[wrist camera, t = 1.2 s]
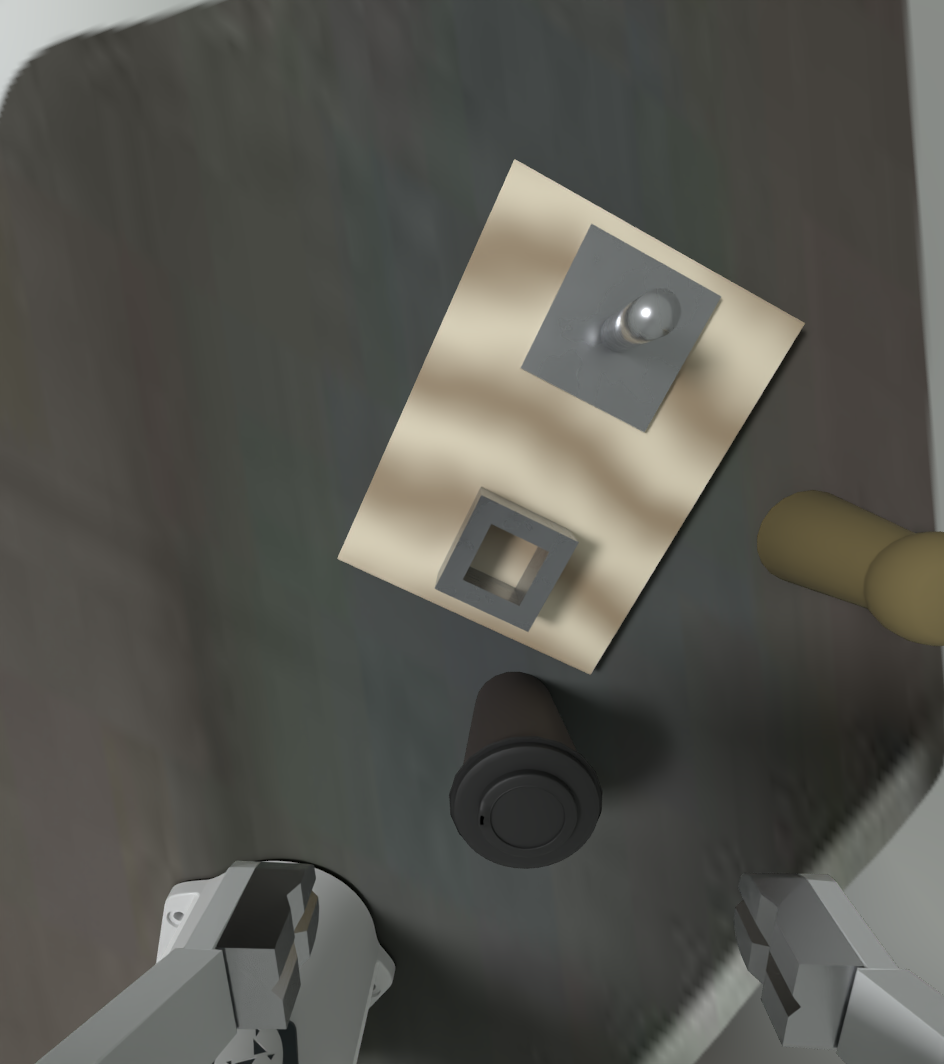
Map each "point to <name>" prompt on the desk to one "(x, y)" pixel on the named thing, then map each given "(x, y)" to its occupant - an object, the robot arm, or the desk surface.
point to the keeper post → (619, 329)
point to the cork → (858, 561)
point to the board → (555, 430)
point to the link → (491, 592)
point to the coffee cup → (523, 779)
